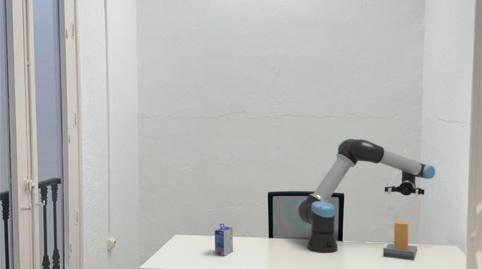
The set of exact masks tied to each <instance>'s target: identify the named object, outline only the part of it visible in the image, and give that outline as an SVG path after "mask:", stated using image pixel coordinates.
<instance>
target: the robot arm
mask: <svg viewBox="0 0 482 269" xmlns="http://www.w3.org/2000/svg"><path fill="white" fill-rule="evenodd" d="M359 162H367V163H373V164H376V165H377V164H381V165H385V166H387V167H391V168H393V169H395V170H399V171H401V183H400V184H399V185H397V186H396V185H392V186H385V187H384V192H385V193H387V194H388V195H390V194H392V193H399V194H401V195H403V196H410V195H412V194H415V197H417V196H418V195H419V196H420V195H423V196H424V195H425V189H423V188H419V187H417V186H416V185H417V184H416V178H419V179H420V178H422V179H425V180H431V179H433V178H434V177H435V174H436V169H435V167H434V166H433V165H430V164H425V163H421V162H419V161H417V160H415V159H411V158H408V157H406V156H403V155H400V154H397V153H394V152H391V151H389V150H386V149H384V147H383V146H381V145H378V144H376V143H374V142H371V141H368V140H367V139H356V138H346V139H345V140H343V141H341V142H340V143H339V145H338V147H337V153H336V160H335V161H334V163H333V164H332V165H331V167H330V168H329V170H328V172H327V173H325V174H326V175H325V176H324V177H323V179H322V181H320V183H319V185H318V186H317V187H316V190H314V192H313V193H310V194H308V196H307V197H306V198H305V199H303V200H301V201H299V203H298V205H297V207H296V212H297V213H296V214H297V216H298V217H299V219H300V220H301V221H303V222H304V223H306V224H309V225H311V229H310V230H311V233H310V236H309V239H308V241H307V249H308V250H309V251H311V252H316V253H335V252H337V251H338V242H337V239H336V235H335V222H336V220H335V215H336V211H335V210H336V209H335V206H334V204H332V203H331V202H329V200H330V199H331V197H332V195H333V194H334V192H335V191H336V189H338V187H339V185H340V183H341V182H342V180H343V179H344V177H345V176H346V174H347V173H348V172H349V170H350V168H354V167H355V166H356V165H357V163H359Z"/></svg>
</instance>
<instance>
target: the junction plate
mask: <svg viewBox="0 0 482 269" xmlns="http://www.w3.org/2000/svg"><path fill="white" fill-rule="evenodd" d="M417 251H418V246H415V245H408V249H407V250H399V249H394V243H387V245H386V246H385V247H383V248H382V257H385V258H394V259H402V260H408V261H410V260H411V261H414V260H415V257H416V255H417Z"/></svg>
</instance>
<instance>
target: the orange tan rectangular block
mask: <svg viewBox="0 0 482 269" xmlns="http://www.w3.org/2000/svg"><path fill="white" fill-rule="evenodd" d="M393 228H394V230H393V231H394V233H393V234H394V235H393V236H394V237H393V244H394V249H399V250H407V249H408V246H409V222H408V221H399V220H395V222H394V227H393Z"/></svg>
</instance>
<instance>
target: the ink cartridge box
mask: <svg viewBox="0 0 482 269" xmlns="http://www.w3.org/2000/svg"><path fill="white" fill-rule="evenodd" d="M219 227H220V228H218V229H215V230H214V255H215V256H219V257H226V256H227V255H229V254H231V253H232V252H234V249H233V248H234V236H233V235H234V232H233V230H234V228H233V226H225V224H224V223H223V222H222V223H219Z"/></svg>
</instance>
